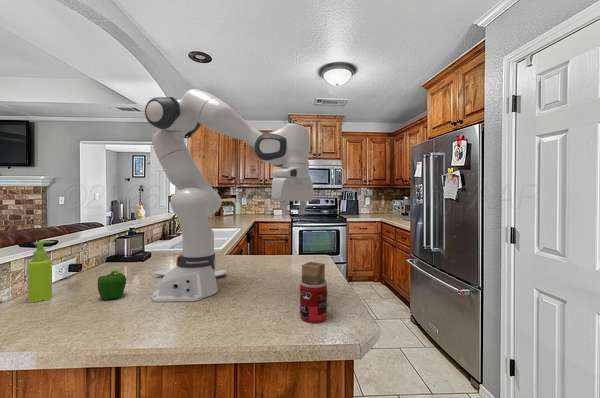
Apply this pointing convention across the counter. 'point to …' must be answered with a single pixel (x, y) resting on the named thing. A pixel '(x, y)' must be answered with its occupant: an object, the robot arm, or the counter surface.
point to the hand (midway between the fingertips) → (293, 214)
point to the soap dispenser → (40, 275)
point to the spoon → (165, 270)
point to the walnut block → (313, 273)
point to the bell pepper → (111, 285)
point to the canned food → (313, 302)
